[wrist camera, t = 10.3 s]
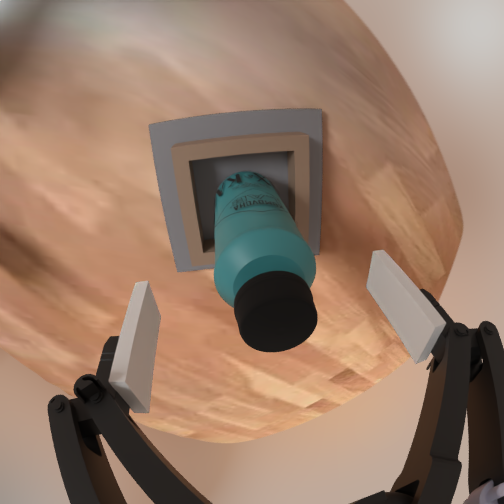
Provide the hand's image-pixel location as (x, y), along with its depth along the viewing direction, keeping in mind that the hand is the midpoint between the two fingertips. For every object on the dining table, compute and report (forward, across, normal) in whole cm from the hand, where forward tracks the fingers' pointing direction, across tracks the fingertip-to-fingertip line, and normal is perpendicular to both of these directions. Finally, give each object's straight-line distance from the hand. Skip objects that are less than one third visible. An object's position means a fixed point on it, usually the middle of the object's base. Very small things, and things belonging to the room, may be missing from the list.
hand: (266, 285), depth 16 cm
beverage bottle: (+17, 0, 0) cm, 17 cm away
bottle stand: (+18, 0, 0) cm, 18 cm away
